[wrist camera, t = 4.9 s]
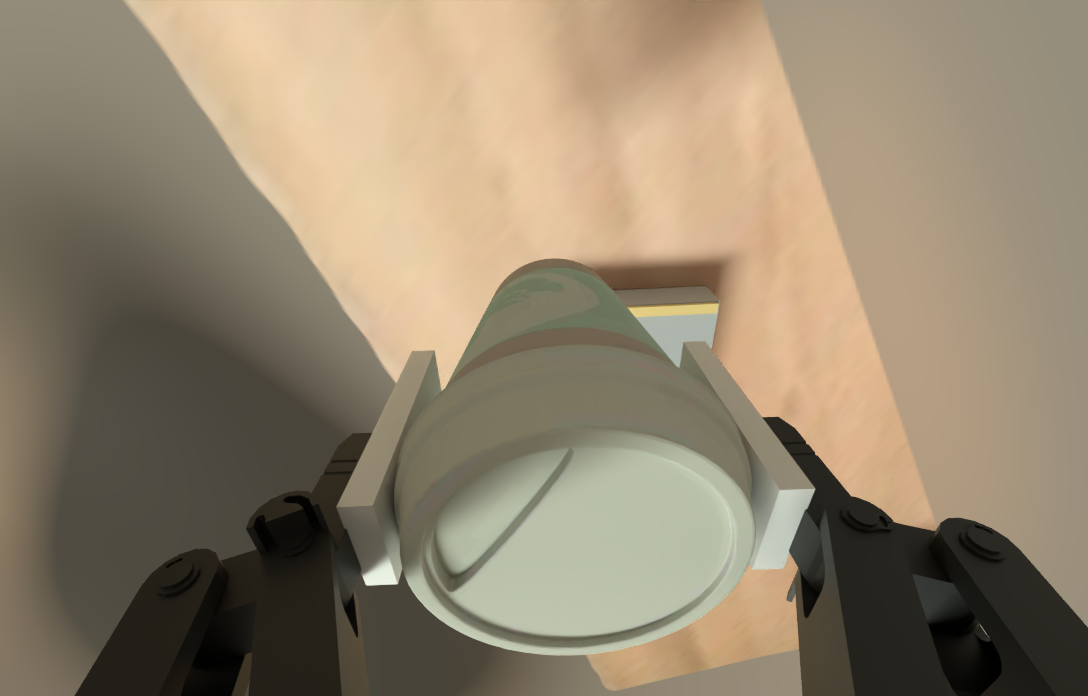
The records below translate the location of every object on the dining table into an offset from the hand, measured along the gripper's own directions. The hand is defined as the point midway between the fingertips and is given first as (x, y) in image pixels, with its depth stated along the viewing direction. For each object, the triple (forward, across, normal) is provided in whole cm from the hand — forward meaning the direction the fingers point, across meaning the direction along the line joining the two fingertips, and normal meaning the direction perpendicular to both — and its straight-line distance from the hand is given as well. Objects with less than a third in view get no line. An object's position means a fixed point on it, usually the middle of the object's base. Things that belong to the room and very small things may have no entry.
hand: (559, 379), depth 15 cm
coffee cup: (+5, 0, 0) cm, 5 cm away
